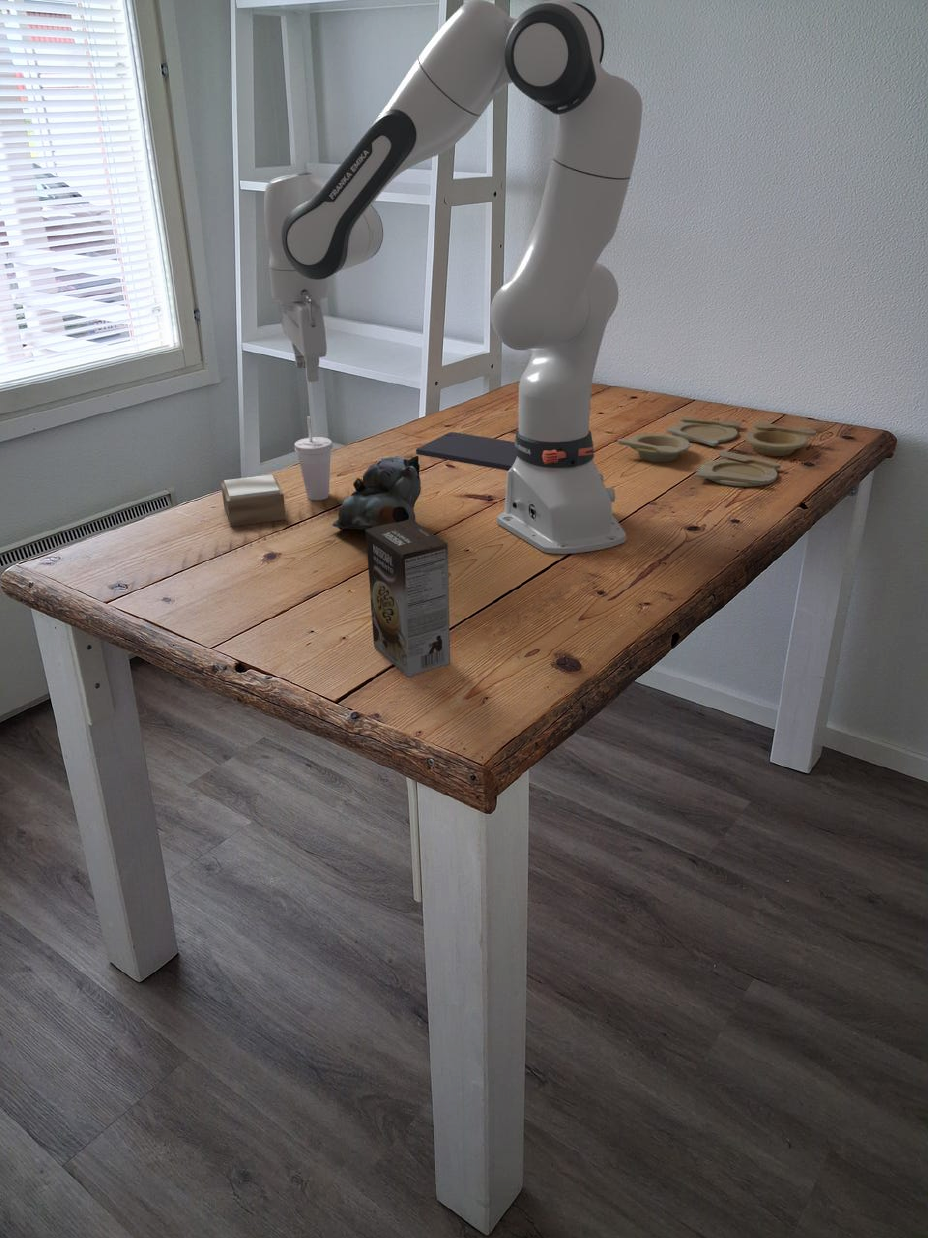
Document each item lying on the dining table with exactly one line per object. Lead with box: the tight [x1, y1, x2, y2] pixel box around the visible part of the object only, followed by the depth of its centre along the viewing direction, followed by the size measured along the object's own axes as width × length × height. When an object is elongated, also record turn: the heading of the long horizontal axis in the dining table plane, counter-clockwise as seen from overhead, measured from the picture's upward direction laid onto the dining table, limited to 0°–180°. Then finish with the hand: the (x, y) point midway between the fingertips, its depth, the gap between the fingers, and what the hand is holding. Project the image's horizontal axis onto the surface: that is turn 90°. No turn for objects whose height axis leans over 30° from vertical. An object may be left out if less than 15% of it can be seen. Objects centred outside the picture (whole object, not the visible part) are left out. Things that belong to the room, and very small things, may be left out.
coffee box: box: [365, 519, 451, 677], centre depth 120 cm, size 9×6×16 cm
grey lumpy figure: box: [331, 455, 422, 531], centre depth 157 cm, size 15×12×14 cm
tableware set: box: [617, 416, 817, 488], centre depth 189 cm, size 35×29×4 cm
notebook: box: [415, 431, 517, 472], centre depth 193 cm, size 13×2×21 cm
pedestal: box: [220, 474, 287, 528], centre depth 166 cm, size 9×9×5 cm
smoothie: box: [294, 416, 334, 501], centre depth 170 cm, size 6×6×14 cm
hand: (307, 373), depth 164 cm, fingers open, 8 cm apart
